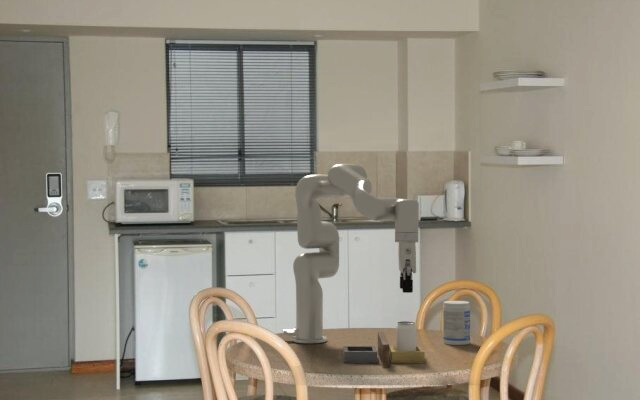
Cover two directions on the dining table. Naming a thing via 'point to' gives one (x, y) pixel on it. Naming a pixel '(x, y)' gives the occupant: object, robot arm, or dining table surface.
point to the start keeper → (360, 354)
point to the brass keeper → (406, 355)
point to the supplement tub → (456, 322)
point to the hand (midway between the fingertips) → (406, 290)
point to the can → (406, 336)
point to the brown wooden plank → (383, 349)
